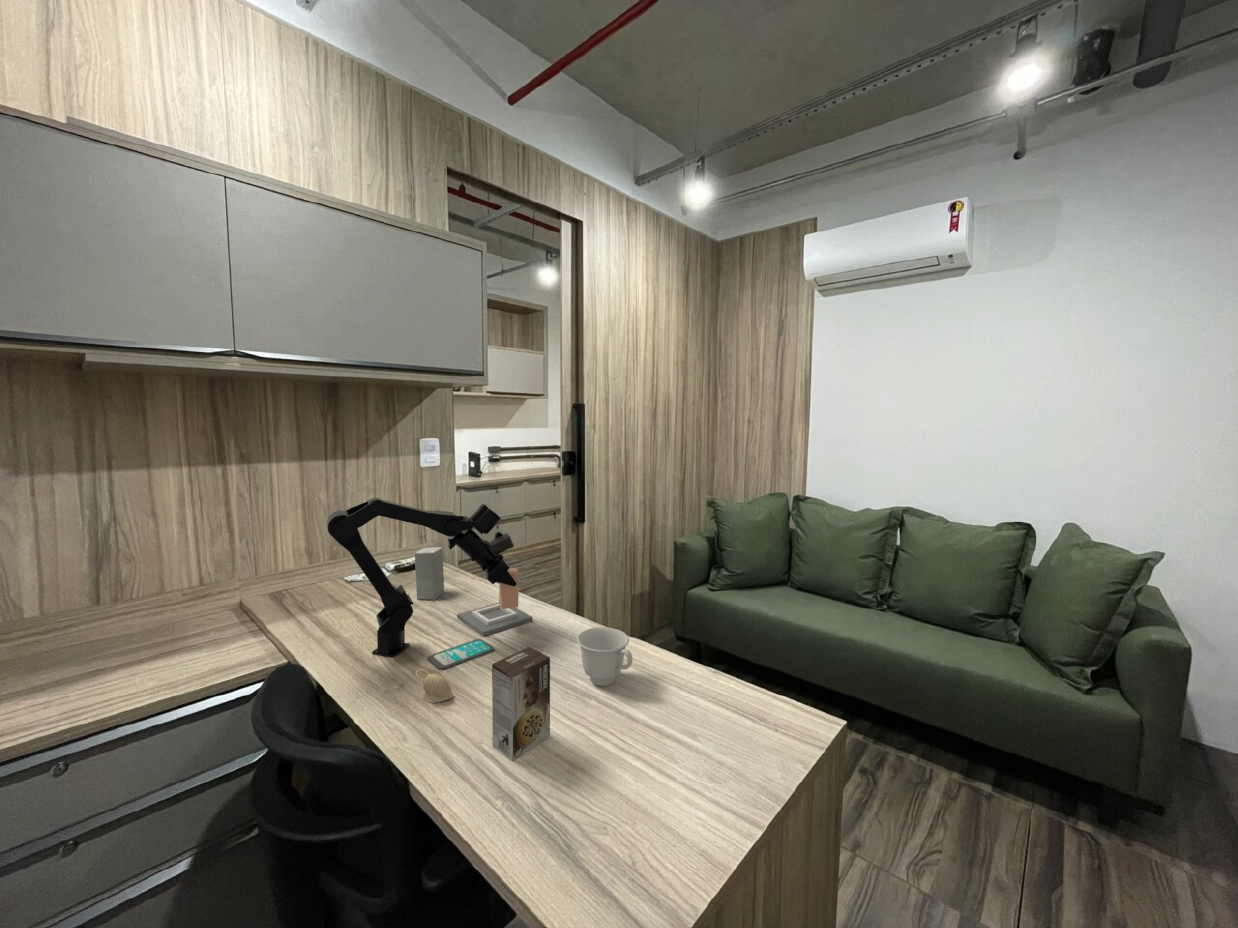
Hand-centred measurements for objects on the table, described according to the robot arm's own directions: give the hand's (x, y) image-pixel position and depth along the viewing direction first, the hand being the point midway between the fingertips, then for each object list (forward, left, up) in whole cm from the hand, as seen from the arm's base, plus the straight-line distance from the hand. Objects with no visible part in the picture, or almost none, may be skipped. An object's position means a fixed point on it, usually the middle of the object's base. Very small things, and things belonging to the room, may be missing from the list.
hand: (513, 582), depth 138 cm
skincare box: (+15, +37, -13) cm, 42 cm away
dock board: (+3, +8, -13) cm, 16 cm away
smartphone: (-18, +6, -14) cm, 24 cm away
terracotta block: (-1, +1, -7) cm, 7 cm away
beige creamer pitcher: (-36, +2, -14) cm, 39 cm away
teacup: (-22, -32, -13) cm, 41 cm away
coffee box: (-46, -21, -13) cm, 52 cm away
